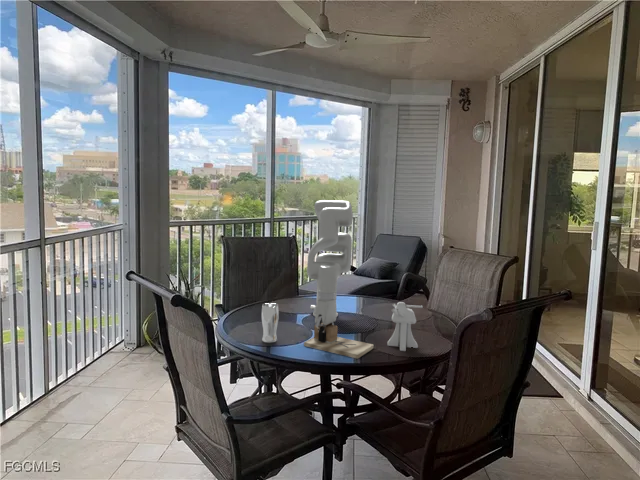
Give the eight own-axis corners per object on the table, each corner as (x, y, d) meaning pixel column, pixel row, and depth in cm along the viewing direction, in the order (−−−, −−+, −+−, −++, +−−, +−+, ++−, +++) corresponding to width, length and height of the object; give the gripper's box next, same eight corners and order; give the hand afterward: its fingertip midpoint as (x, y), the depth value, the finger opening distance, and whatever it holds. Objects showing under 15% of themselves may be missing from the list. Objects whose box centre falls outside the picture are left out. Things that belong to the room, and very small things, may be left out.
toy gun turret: (421, 352, 173) (423, 307, 171) (387, 349, 175) (389, 305, 173) (419, 342, 185) (421, 300, 183) (387, 340, 187) (389, 298, 185)
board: (304, 345, 176) (304, 341, 176) (322, 336, 188) (322, 333, 188) (357, 358, 164) (357, 354, 164) (373, 348, 176) (373, 344, 176)
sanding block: (314, 339, 179) (314, 325, 179) (320, 336, 183) (320, 322, 183) (331, 343, 175) (331, 328, 174) (337, 340, 179) (337, 325, 179)
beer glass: (271, 344, 177) (271, 307, 175) (257, 341, 180) (258, 305, 179) (281, 340, 183) (282, 304, 181) (268, 336, 186) (268, 302, 185)
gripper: (329, 290, 187) (328, 332, 188) (307, 298, 172) (306, 343, 174) (345, 293, 183) (343, 336, 185) (324, 301, 168) (323, 347, 170)
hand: (325, 339), depth 179 cm, fingers closed on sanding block, 5 cm apart
